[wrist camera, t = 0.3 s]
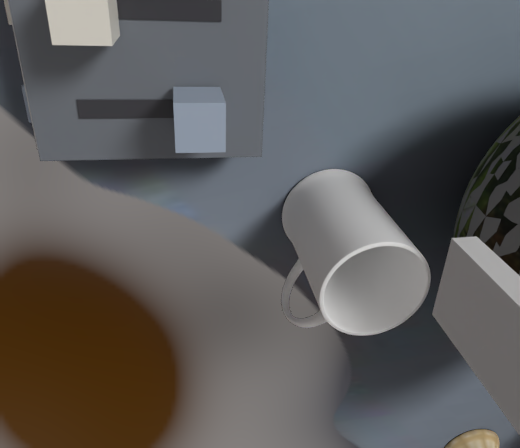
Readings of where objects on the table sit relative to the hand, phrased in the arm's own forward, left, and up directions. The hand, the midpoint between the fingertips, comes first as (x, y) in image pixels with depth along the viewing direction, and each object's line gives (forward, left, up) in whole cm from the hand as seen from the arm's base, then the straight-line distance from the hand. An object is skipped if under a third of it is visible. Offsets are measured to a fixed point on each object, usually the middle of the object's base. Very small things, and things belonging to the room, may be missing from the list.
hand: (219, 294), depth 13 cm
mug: (+13, +11, -26) cm, 31 cm away
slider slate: (+1, 0, -21) cm, 21 cm away
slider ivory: (-5, -6, -21) cm, 22 cm away
